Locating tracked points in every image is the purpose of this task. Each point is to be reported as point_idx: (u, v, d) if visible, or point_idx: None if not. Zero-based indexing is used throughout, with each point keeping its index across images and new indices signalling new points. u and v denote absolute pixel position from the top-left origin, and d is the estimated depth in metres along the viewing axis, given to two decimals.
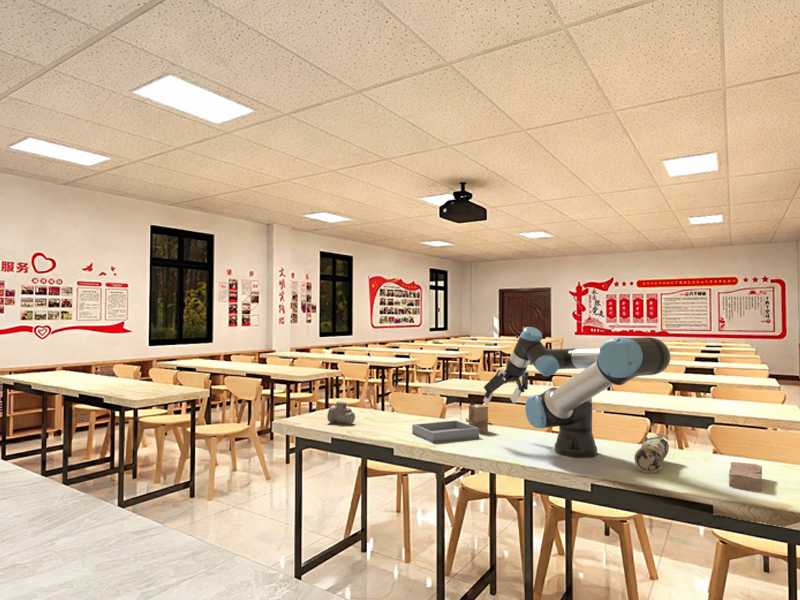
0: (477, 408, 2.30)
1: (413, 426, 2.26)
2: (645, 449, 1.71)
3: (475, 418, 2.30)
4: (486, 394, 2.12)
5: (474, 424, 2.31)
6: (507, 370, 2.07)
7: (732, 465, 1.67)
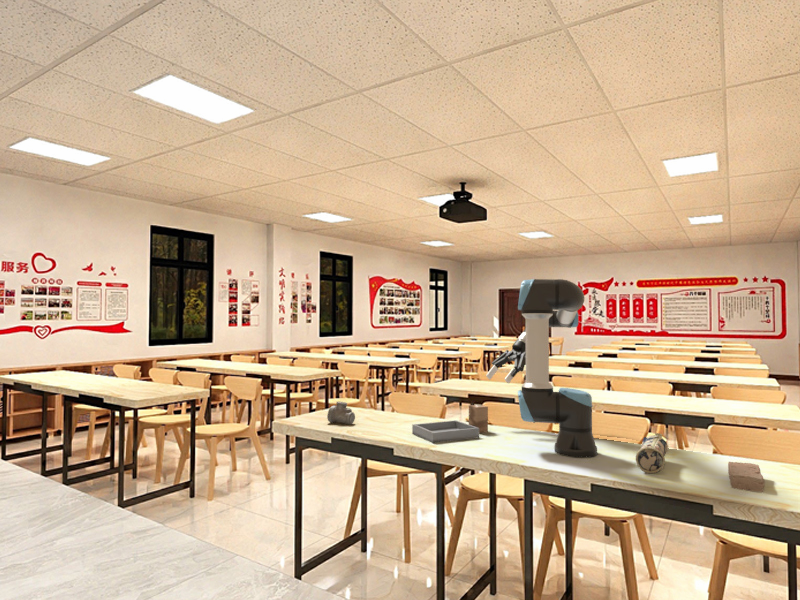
0: (477, 408, 2.30)
1: (413, 426, 2.26)
2: (646, 449, 1.71)
3: (475, 418, 2.30)
4: None
5: (474, 424, 2.31)
6: None
7: (731, 465, 1.67)
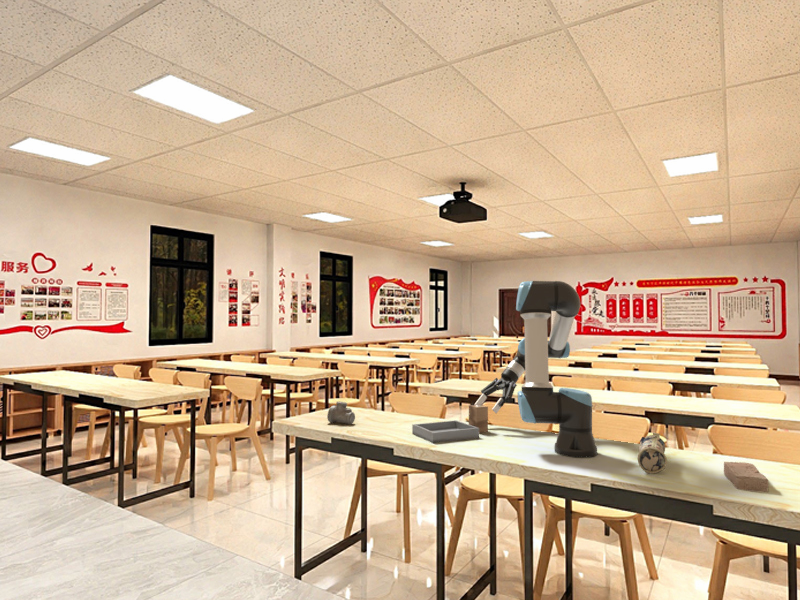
0: (477, 408, 2.30)
1: (413, 426, 2.26)
2: (648, 449, 1.71)
3: (475, 418, 2.30)
4: None
5: (474, 424, 2.31)
6: None
7: (729, 465, 1.67)
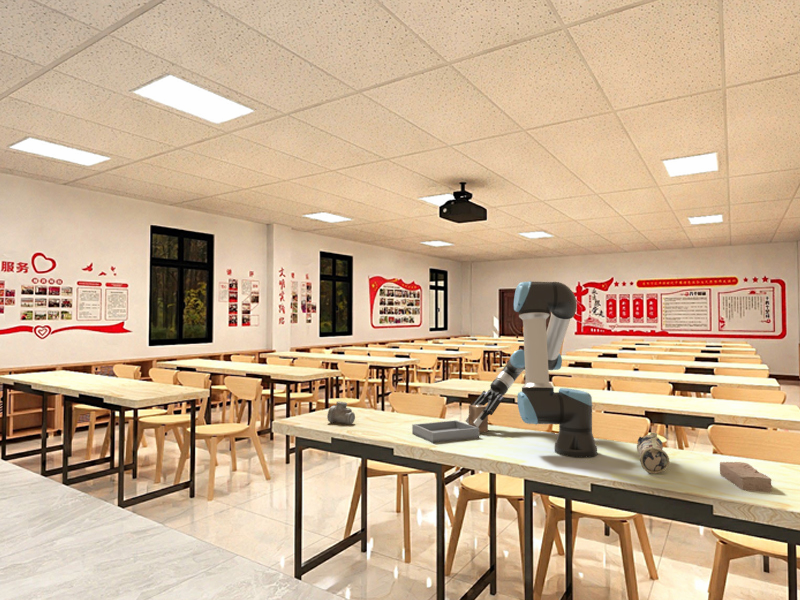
0: (477, 408, 2.30)
1: (413, 426, 2.26)
2: (651, 450, 1.70)
3: (475, 418, 2.30)
4: None
5: (474, 424, 2.31)
6: None
7: (727, 466, 1.66)
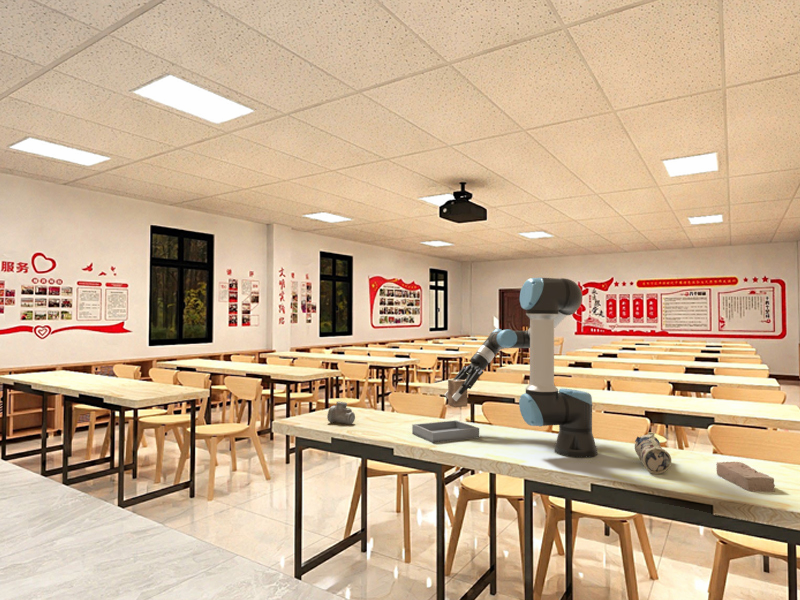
0: (456, 382, 2.26)
1: (413, 426, 2.26)
2: (654, 450, 1.70)
3: (454, 392, 2.26)
4: None
5: (453, 399, 2.27)
6: None
7: (726, 466, 1.66)
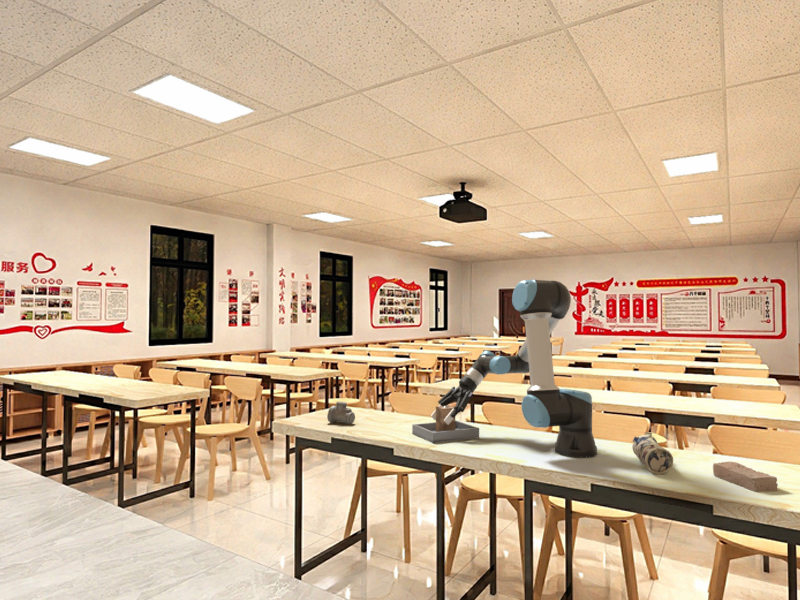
0: (444, 409, 2.20)
1: (413, 426, 2.26)
2: (656, 450, 1.70)
3: (442, 420, 2.21)
4: None
5: (441, 426, 2.21)
6: None
7: (726, 467, 1.65)
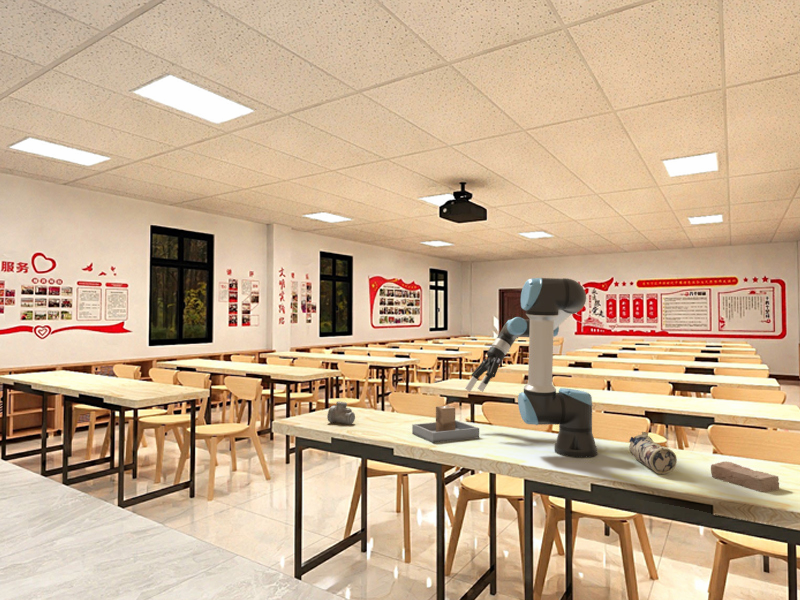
0: (444, 409, 2.20)
1: (413, 426, 2.26)
2: (661, 450, 1.70)
3: (442, 420, 2.21)
4: None
5: (441, 426, 2.21)
6: None
7: (726, 468, 1.64)
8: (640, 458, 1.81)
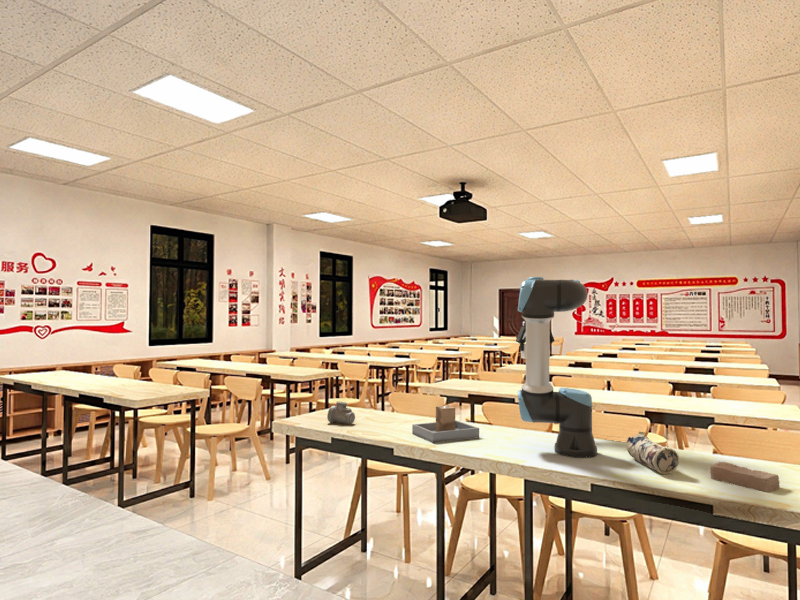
0: (444, 409, 2.20)
1: (413, 426, 2.26)
2: (664, 450, 1.70)
3: (442, 420, 2.21)
4: None
5: (441, 426, 2.21)
6: None
7: (727, 469, 1.63)
8: (640, 458, 1.80)
